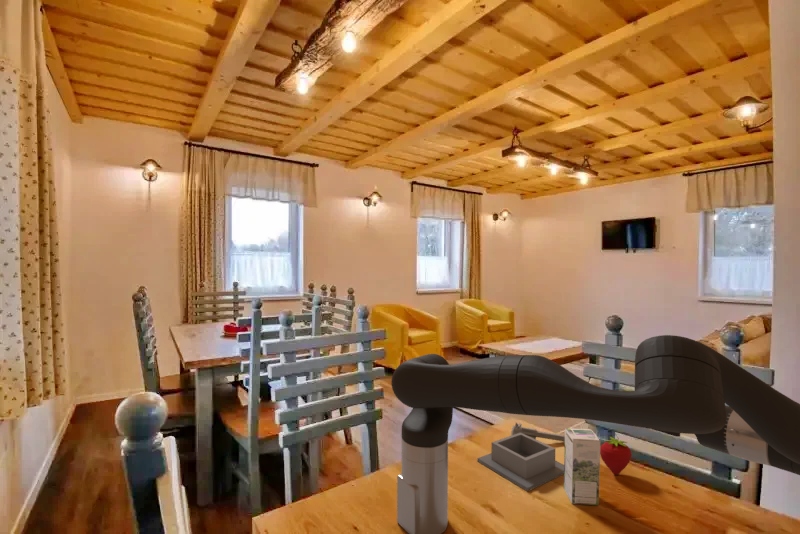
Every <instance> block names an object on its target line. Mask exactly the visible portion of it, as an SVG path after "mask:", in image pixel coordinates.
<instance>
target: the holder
mask: <svg viewBox="0 0 800 534" xmlns="http://www.w3.org/2000/svg"><path fill="white" fill-rule="evenodd" d="M476 461H477V462H478V463H480V464H481V465H483V466H484V467H486V468H488V469H489V470H491V471H493V472H495V473H496V474H498V475H499V476H501V477H502V478H504V479H506V480H507V481H509V482H511V483H512V484H514V485H515V486H517V487H518V488H520V489H523V490H524V491H526V492H528V491H529V492H530V491H531V490H533V489H536V488H537V487H540V486H542V485H544V484H546V483H549V482H550V481H552V480H556V479H557V478H559V477H561V476H564V464H563V463H561V462H559V461H557V460H556V448H555V447H553V446H551V445H548V444H547V443H544V442H542V441H540V440H537V438H536V439H534V438H531V437H529V436H527V435H525V434H523V433H521V432H520V433H517V434H514V435H511V434H510V435H509V436H506V437H504V438H500V439H497V440H494V441H492V442H491V452H490V453H488V454H485V455H483V456H479V457H477V460H476Z"/></svg>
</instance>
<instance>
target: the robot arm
mask: <svg viewBox="0 0 800 534" xmlns="http://www.w3.org/2000/svg"><path fill="white" fill-rule="evenodd" d="M390 383H391V389H392V392H393V394H394V396H395V397H396V399H398V400H399V402H401V403H402V404H403V405H405V406H406V407H408V408H412V409H411V410H410V412H409V413H408V414H407V416H406V417H405V418H404V420H403V421H402V423H401V459H400V461H401V465H400V466H401V467H400V468H401V470H400V471H401V473H400V474H398V475H397V476H396V478H397V479H396V488H397V489H396V495H397V496H396V499H397V500H396V503H397V504H396V523H397V524H398V525H400V526H401V528H402V529H403V530H404V531H405V532H407V534H443V533H444V532H445V531H446V529H447V527H448V524H449V523H448V519H449V518H448V516H449V514H448V513H449V512H448V509H449V508H448V507H449V506H448V504H449V503H448V502H449V501H448V500H449V496H448V495H449V493H448V491H449V489H448V488H449V480H448V479H449V472H448V471H449V431H450V427H451V425H452V422H453V415H454V414H453V413H454V412H453V411H454V408H461V409H467V410H476V411H482V412H483V411H484V412H485V411H486V412H494V413H505V414H510V415H522V416H531V417H536V416H537V417H552V418H553V417H554V418H569V419H580V420H590V421H592V420H593V421H598V422H604V423H610V424H611V423H612V424H616V425H617V424H618V425H623V426H630V427H636V428H641V429H642V428H643V429H649V430H653V431H656V432H659V433H663V434H667V435H670V436H673V437H675V438H676V437H679V438H680V437H681V434H688V435H689V434H690V435H694V436H695V438H696V440H697V442H698V443H699V445H700V446H702V447H705V448H709V449H711V450H715V451H718V452H720V453H724V454H726V455H730V456H733V457H736V458H739V459H741V460H746V461H749V462H752V463H755V464H761V465H766V466H770V467H773V468H777V469H779V470H783V471H786V472H789V473H792V474H794V475H798V476H800V403H799V402H797V401H795V400H793V399H792V398H790V397H789V396H787V395H785V394H783V393H782V392H780V391H779V390H777V389H776V388H774V387H772V385H769V384H768V383H766V382H765V381H763V380H762V379H760V378H759V377H757V376H755V375H754V374H752V373H751V372H750V371H748V370H746V369H745V368H743V367H741V366H740V365H739V364H737V363H736V362H734V361H732V360H731V359H729V358H728V357H726V356H725V355H723V354H722V353H720V352H719V351H717V350H715V349H713V348H711V347H710V346H708V345H707V344H704V343H702V342H700V341H698V340H696V339H691V338H689V337H684V336H680V335H674V334H665V335H656V336H652V337H649V338H646V339H645V340H643V341H642V342H640V344H639V345H638V346H637V348H636V350H635V358H634V390H619V389H618V390H616V389H610V388H605V387H601V386H597V385H594V384H592V383H590V382H588V381H587V380H584V379H582V378H581V377H579V376H577V375H576V374H574V373H573V372H571V371H570V370H568V369H567V368H565V367H563V366H562V365H561V364H559V363H557V362H555V361H554V360H551V359H549V358H548V357H545V356H542V355H536V354H513V355H512V354H510V355H509V354H507V355H499V356H490V357H485V358H480V359H474V360H470V361H465V362H461V363H454V364H453V363H452V364H450V363H449V362H448V361H447V360H446V358H445V357H443V356H442V355H439V354H438V353H437V354H436V353H428V354H423V355H420V356H417V357H413V358H410V359H408V360H404V361H403V362H402V363H401V364H399V365H398V366H397V367H396V369H394V371H393V374H392V376H391V382H390Z"/></svg>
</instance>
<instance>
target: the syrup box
mask: <svg viewBox="0 0 800 534" xmlns="http://www.w3.org/2000/svg"><path fill="white" fill-rule="evenodd" d="M564 435H565V442H564V455H563V456H564V457H563V458H564V460H563V461H564V462H563V463H564V464H563V465H564V474H563V489H564V491H565V493H566V495H567V497H568V499H569V501H570V502H571V504H573V505H585V506H586V505H587V506H588V505H590V506H599V504H600V472H601V471H600V470H601V469H600V468H601V467H600V464H601V455H600V447H601V440H600V439H599V437H598V436H597V434H596V433H595V432H594V431H593V430H592V429H591V428H570V427H567V428H566V427H565V428H564Z"/></svg>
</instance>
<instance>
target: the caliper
mask: <svg viewBox="0 0 800 534" xmlns="http://www.w3.org/2000/svg"><path fill="white" fill-rule="evenodd" d="M520 432H521V433H523V434H525V435H527V436H529V437H531V438H534V439H536V440H537V438H540V439H545V440H546V439H547V440H552V441H556V442H557V441H558V442H564V443H565V434H564V435H563V434H558V433H554V432H553V433H551V432H547V431H539V430H537V428H530V427H526V426H522V423H521V422H519V423H518V422H516V421H515V425H512V428H511V431H510V436H511V435H514V434H517V433H520Z"/></svg>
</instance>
